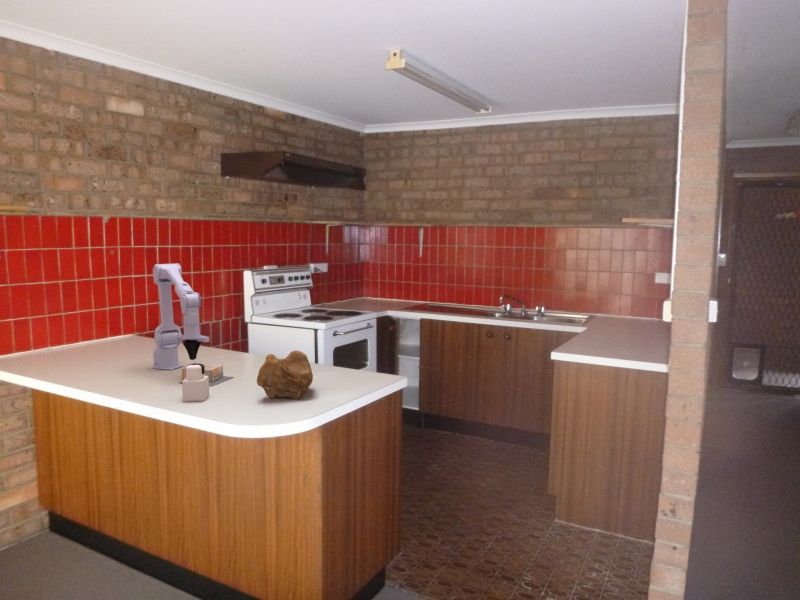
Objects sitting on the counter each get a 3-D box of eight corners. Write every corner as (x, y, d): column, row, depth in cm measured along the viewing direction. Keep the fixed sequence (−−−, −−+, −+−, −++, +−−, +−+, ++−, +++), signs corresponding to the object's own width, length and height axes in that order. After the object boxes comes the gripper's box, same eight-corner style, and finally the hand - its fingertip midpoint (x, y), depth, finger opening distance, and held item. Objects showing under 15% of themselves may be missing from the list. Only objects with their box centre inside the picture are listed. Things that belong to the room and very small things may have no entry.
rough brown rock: (288, 409, 191) (291, 365, 189) (249, 398, 199) (252, 355, 197) (328, 394, 212) (331, 354, 210) (291, 385, 219) (294, 346, 217)
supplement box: (181, 380, 224) (213, 382, 222) (181, 368, 224) (212, 369, 221) (193, 375, 232) (223, 376, 230) (193, 363, 232) (223, 364, 229)
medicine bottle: (188, 395, 204) (187, 362, 203) (209, 395, 205) (208, 361, 203) (182, 401, 197) (181, 366, 196) (204, 401, 198) (203, 366, 196)
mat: (178, 383, 221) (178, 382, 221) (201, 374, 234) (201, 374, 234) (211, 386, 217) (212, 385, 217) (233, 377, 230) (233, 377, 230)
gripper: (213, 324, 226) (215, 358, 228) (182, 322, 231) (184, 355, 232) (202, 326, 220) (203, 362, 221) (170, 324, 224) (172, 359, 226)
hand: (192, 359), depth 226 cm, fingers closed
